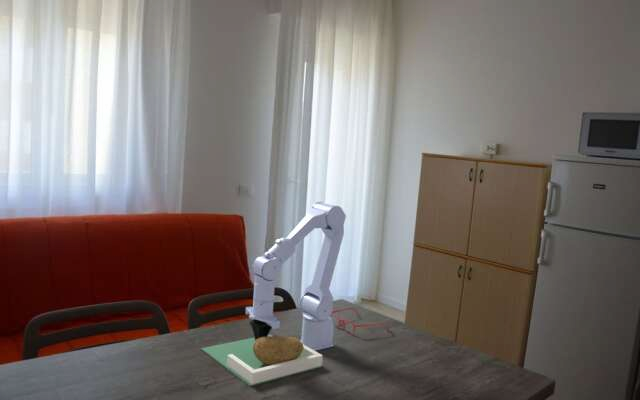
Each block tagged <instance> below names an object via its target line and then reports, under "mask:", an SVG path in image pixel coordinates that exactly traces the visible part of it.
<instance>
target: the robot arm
mask: <svg viewBox="0 0 640 400" xmlns="http://www.w3.org/2000/svg"><path fill="white" fill-rule="evenodd" d="M346 217H347V215H346V213H345V211H344V210H343V208H342V207H341V206H339V205H334V204H328V203H323V202H322V201H317V202H314V203H313V204H312V205H311V207H309V208H308V209H307V210H306V215H305V216H304V217H303V218H302V219H301V221H299V223H298V224H297V225H296V226H295V228H294V229H293V230H292V231H291V232H290V233H289V234H288V236H287V237H280V238H278V239H276V240H275V243H274V245H273V246H271V247H270V248H269V250H267V251H265V253H264V254H263V255H261V256H258V257H257V258H255V259H254V261H253V263H252V265H251V267H250V268H251V269H250V270H251V272H252V273H253V276H254V277H253V280H254V283H253V284H254V285H253V286H254V287H253V297H252V299H253V301H252V306H246V307H245V315H248V318H249V319H251V320H250V321H249V325H250V327H251V329H252V331H253V338H255V341H256V340H257V339H258V338H260V337H267V336H268V335H269V334H270V332H271V330H277V329H280V327H281V321H280V320H279V319H277V317H276V316H275V315H274V301H275V300H274V299H275V286H276V284H275V283H276V278H277V277H279V275H280V273H281V269H282V268H283V265H284V264H285V263H286V262H287V261H288V260H289V259H290V258H291V257H292V255H294V254H295V253H296V246H297V245H298V244H299V243H300V242H301V241H303V240H304V239H305V238H306V237H307V236H308V235H309V234H311V232H312V231H314V230H315V229H321V230H322V233H323V234H324V237H323V241H322V246H321V249H320V252H319V257H318V260H317V264H316V267H315V271H314V275H313V279H312V281H311V284H310V285H308V286H307V287H306V288H305V289H304V292H303V294H302V296H301V297H300V299H299V303H298V307H299V309H300V311H302V312H301V313H302V314H301V315H302V325H301V326H302V328H301V337H300V338H301V339H299V340H300V341H301V343H302V344H303V345H305V346H307V347H309V348H310V349H312V350H314V351H316V352H317V351H320V350H325V349H327V348H332V347H334V346H335V344H333V338H334V328H335V325H334V320H333V319H332V314H331V313H332V311H333V300H334V296H333V293H332V292H331V290H330V287H331V282H332V279H333V275H334V272H335V268H336V264H337V262H338V261H337V260H338V257H339V254H340V250H341V246H342V242H343V239H344V235H345V229H344V227H345V226H344V225H345V221H346ZM330 315H331V317H330Z"/></svg>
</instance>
